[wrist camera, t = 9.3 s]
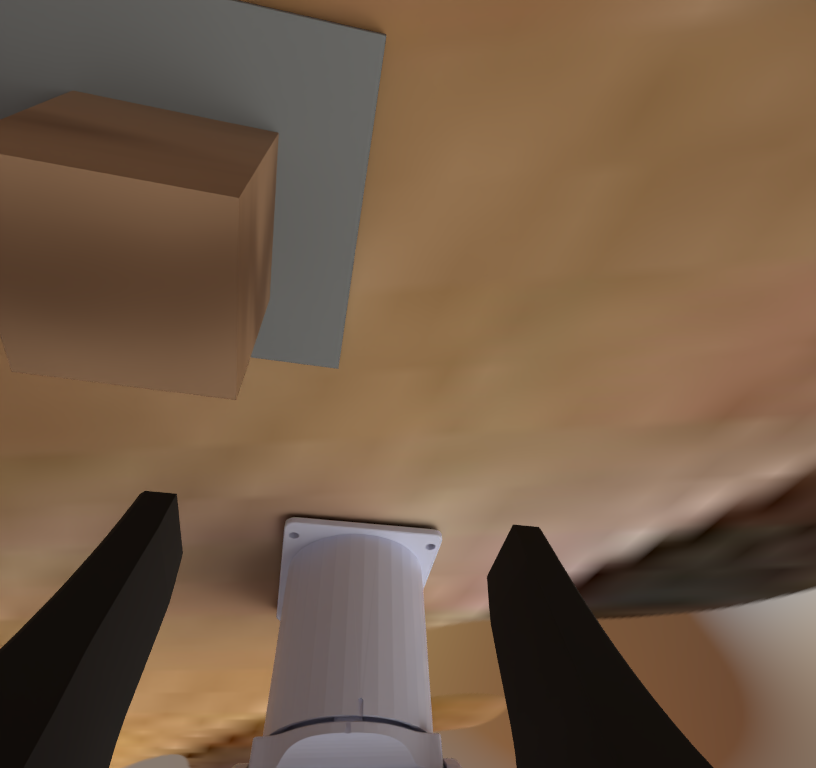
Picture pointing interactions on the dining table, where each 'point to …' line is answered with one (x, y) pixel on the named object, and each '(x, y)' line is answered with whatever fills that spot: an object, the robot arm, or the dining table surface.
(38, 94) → the mat
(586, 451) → the dining table surface
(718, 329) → the dining table surface
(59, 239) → the walnut cube
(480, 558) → the dining table surface
